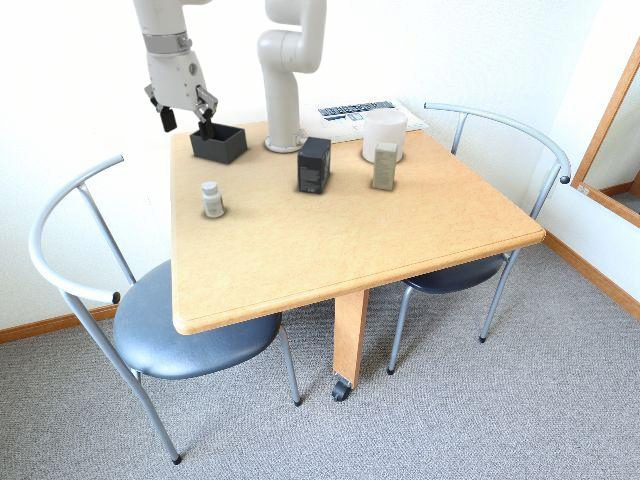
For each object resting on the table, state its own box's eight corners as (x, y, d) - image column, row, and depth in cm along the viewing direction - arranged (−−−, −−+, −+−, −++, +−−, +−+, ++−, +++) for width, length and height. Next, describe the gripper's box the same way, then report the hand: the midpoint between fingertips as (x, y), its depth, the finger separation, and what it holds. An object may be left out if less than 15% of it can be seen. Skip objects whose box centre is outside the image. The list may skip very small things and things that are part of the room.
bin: (247, 149, 113) (244, 128, 108) (228, 164, 106) (224, 142, 101) (215, 142, 117) (211, 122, 112) (194, 156, 110) (189, 135, 105)
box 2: (394, 182, 98) (399, 143, 91) (390, 191, 95) (396, 151, 87) (374, 179, 99) (378, 141, 92) (371, 187, 96) (374, 148, 89)
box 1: (321, 194, 93) (321, 157, 87) (297, 191, 95) (295, 154, 88) (331, 173, 101) (331, 138, 95) (308, 171, 103) (307, 135, 96)
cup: (354, 153, 110) (356, 114, 102) (381, 142, 116) (385, 104, 108) (382, 168, 103) (387, 128, 95) (410, 156, 109) (417, 117, 101)
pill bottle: (228, 212, 88) (222, 184, 83) (213, 220, 85) (206, 192, 80) (217, 205, 90) (211, 177, 85) (202, 212, 88) (195, 185, 83)
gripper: (219, 43, 65) (234, 134, 76) (146, 34, 71) (170, 121, 82) (191, 53, 60) (211, 149, 71) (115, 42, 66) (144, 133, 77)
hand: (189, 134), depth 76 cm, fingers open, 9 cm apart
